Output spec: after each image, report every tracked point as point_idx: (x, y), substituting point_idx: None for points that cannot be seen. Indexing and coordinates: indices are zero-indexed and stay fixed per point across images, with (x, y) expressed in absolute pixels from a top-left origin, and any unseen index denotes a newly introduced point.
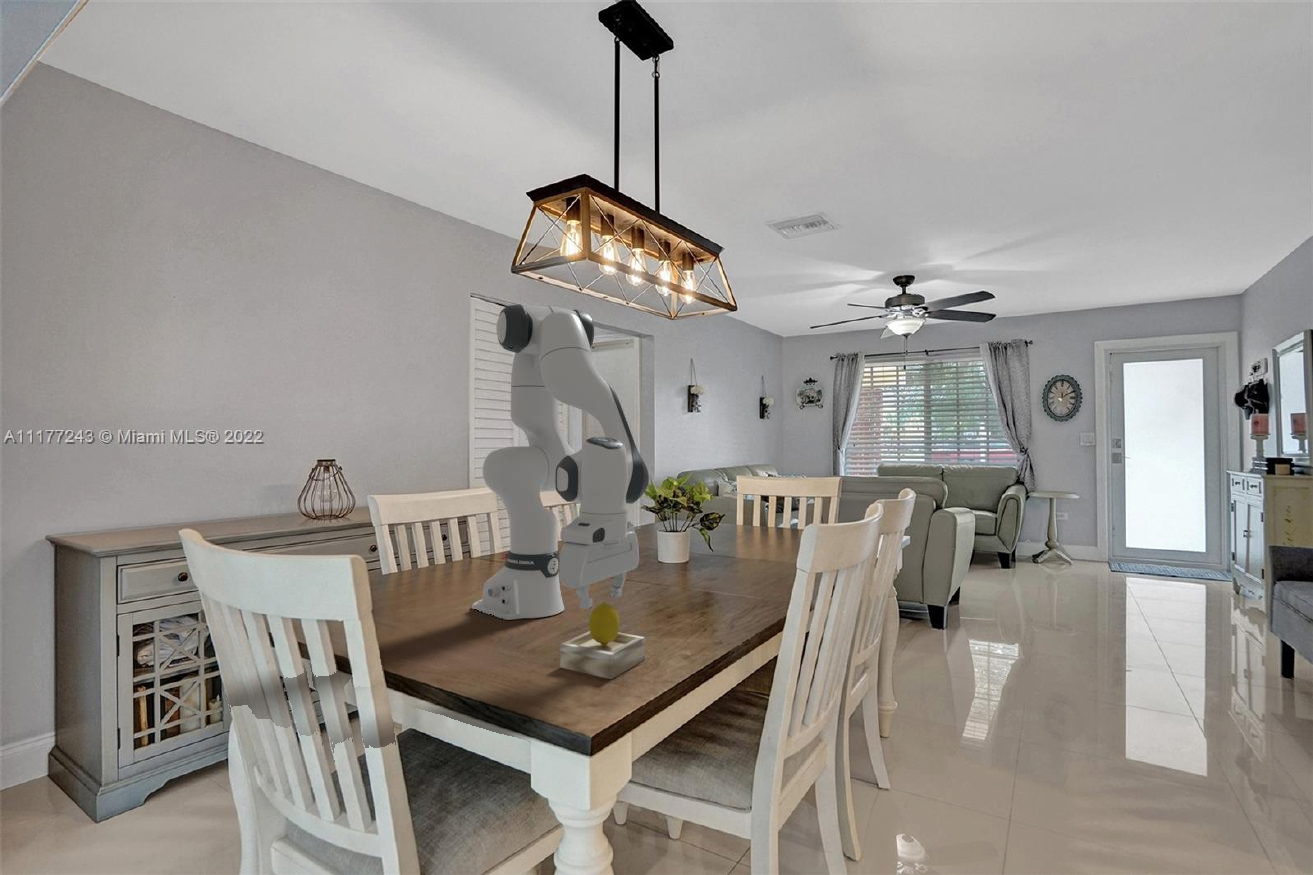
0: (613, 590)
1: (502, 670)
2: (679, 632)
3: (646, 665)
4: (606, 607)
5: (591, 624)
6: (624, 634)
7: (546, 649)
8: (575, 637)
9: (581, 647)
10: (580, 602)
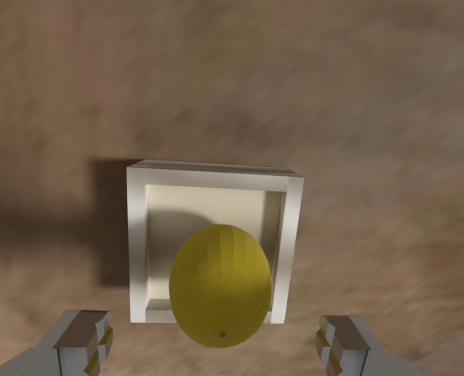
0: (333, 352)
1: (50, 36)
2: (459, 268)
3: None
4: (206, 341)
5: (174, 262)
6: (282, 273)
7: (234, 45)
8: (198, 172)
9: (133, 235)
10: (50, 333)
